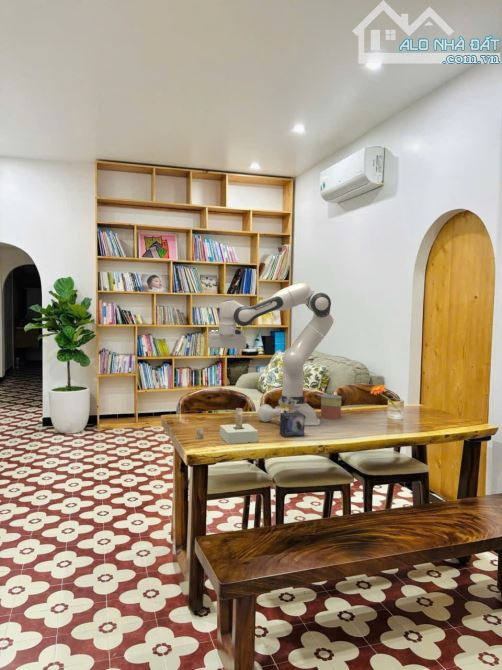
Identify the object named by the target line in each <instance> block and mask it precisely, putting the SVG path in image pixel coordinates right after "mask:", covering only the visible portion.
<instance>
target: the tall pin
mask: <svg viewBox="0 0 502 670" xmlns="http://www.w3.org/2000/svg"><path fill="white" fill-rule="evenodd" d="M235 424H236V426H235V430H237V429H242V424H243V408H241V407H237V408H235Z"/></svg>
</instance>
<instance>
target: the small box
mask: <svg viewBox="0 0 502 670" xmlns="http://www.w3.org/2000/svg"><path fill="white" fill-rule="evenodd" d="M279 416H280V422H279V433H278V434H279V435H280V436H281V437H283V438H295V437H296V438H297V437H299V438H300V437H301V438H302V437H305V425H304V424H305V415H304V414H302V413H301V412H292V413H280V414H279Z"/></svg>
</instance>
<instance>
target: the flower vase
mask: <svg viewBox="0 0 502 670" xmlns="http://www.w3.org/2000/svg"><path fill="white" fill-rule="evenodd" d="M285 395H286V394H285ZM286 397H287V400H288V401H287V400H286V401H285V402H284V403H283V402H282V401H281V399H278V405H277V406H275V407H274V408H273V407H272V405H270V404H266V403H265V404H262V405H260V407H259V408H258V409H257V417H258V418H259V419H260V420H261V421H262V422H265V423H266V422H270V421H272V419H274V416H277V415H280V413H292V411H294V412H299V410H298V409H297V408H299V407H300V404H297V405H296V403H297V401H296V400H295V401H294V400H293V399H292V398H289V397H288V396H287V395H286ZM289 402H291V403H290V405H289V404H288V403H289ZM293 402H294V404H293ZM278 419H280V418H279V417H278Z"/></svg>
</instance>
